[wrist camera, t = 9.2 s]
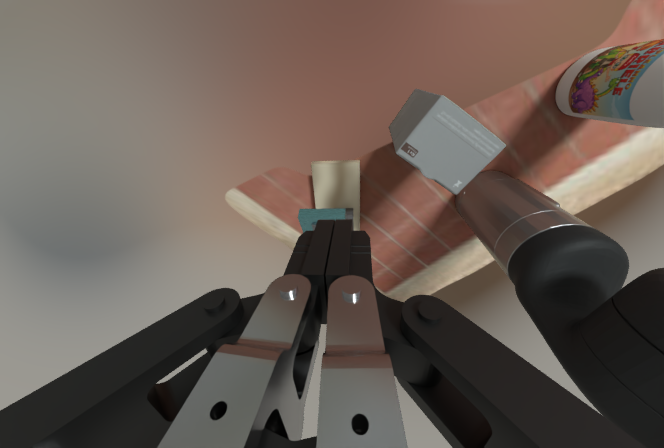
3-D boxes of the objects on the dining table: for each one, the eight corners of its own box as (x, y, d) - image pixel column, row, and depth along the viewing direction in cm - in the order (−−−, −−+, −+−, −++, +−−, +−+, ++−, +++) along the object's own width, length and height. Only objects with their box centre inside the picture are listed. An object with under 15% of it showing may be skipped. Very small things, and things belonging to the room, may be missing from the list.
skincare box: (458, 119, 35) (520, 141, 22) (424, 159, 39) (459, 200, 25) (413, 84, 34) (449, 84, 20) (382, 130, 37) (395, 156, 23)
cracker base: (359, 159, 40) (359, 188, 29) (360, 251, 49) (360, 299, 38) (312, 161, 41) (295, 189, 30) (321, 251, 50) (311, 297, 39)
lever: (349, 183, 34) (344, 212, 24) (351, 279, 41) (348, 330, 32) (314, 184, 35) (297, 212, 25) (323, 278, 42) (311, 328, 32)
